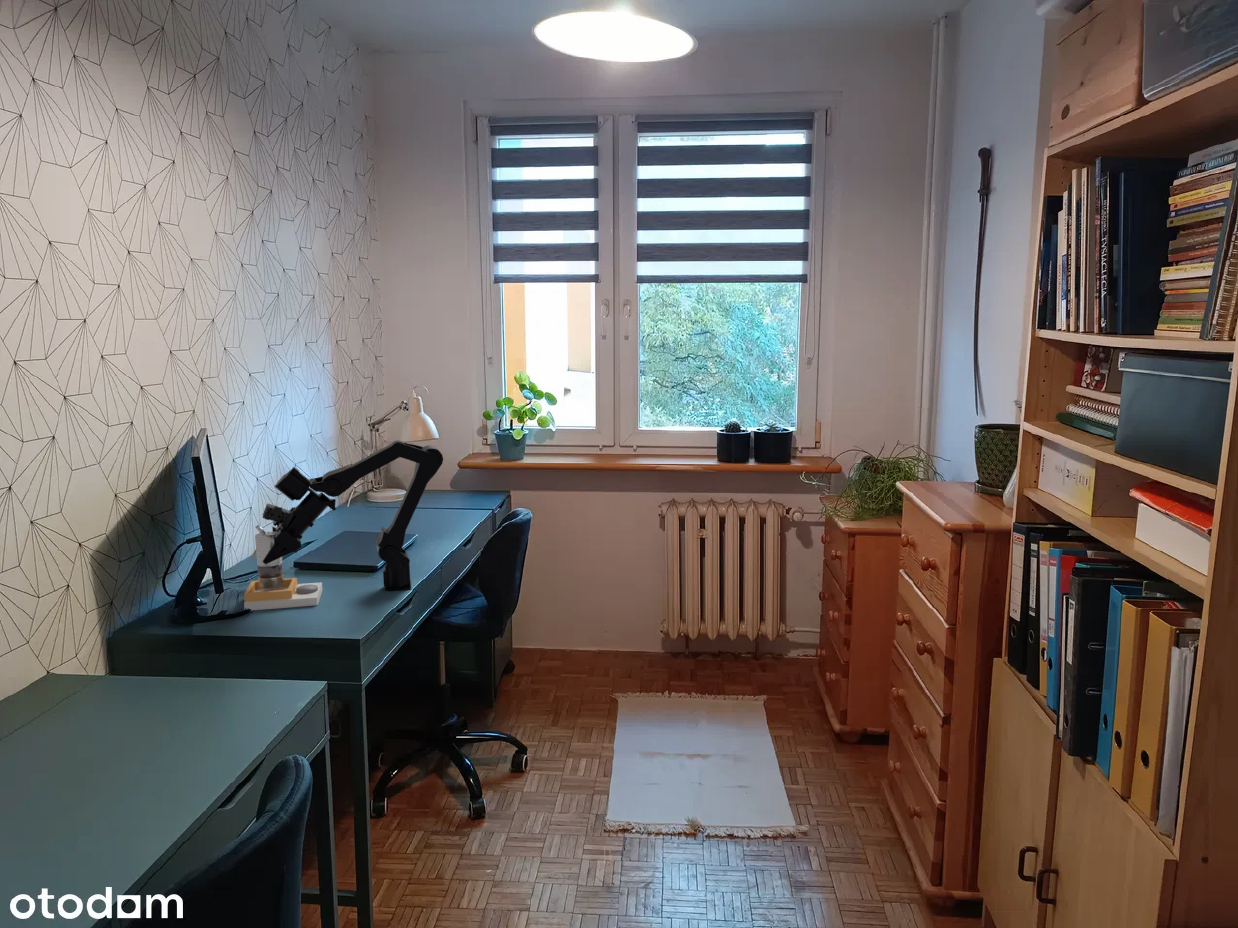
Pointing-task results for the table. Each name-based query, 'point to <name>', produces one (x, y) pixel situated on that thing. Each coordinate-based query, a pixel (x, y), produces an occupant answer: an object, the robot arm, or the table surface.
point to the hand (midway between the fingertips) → (263, 559)
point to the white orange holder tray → (282, 595)
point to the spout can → (272, 571)
